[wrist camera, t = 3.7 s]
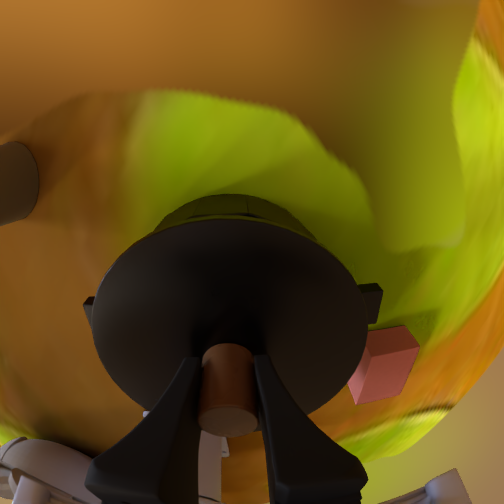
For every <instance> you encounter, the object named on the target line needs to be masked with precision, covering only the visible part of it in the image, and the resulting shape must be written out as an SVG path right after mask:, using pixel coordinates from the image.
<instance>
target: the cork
mask: <svg viewBox="0 0 504 504" xmlns="http://www.w3.org/2000/svg"><path fill="white" fill-rule="evenodd" d="M38 191H39V175H38V171H37V166H36V162H35V160H34V158H33V156H32V154H31V152H30V151H29V150H28V149H27V148H26V147H25V145H23V144H21V143H18V142H9V143H6V144H3V145H1V146H0V226H3V225H6V224H9V223H12V222H15V221H18V220H20V219H23V218H25V217H26V216H27V215H28V214H29V213H30V212H31V211H32V209H33V207H34V205H35V203H36V200H37V195H38Z"/></svg>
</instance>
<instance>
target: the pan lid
mask: <svg viewBox="0 0 504 504" xmlns="http://www.w3.org/2000/svg"><path fill="white" fill-rule="evenodd" d="M92 334H93V339H94V344H95V347H96V350H97V353H98V355H99V358H100V360H101V362H102V364H103V365H104V367H105V369H106V371H107V372H108V374H109V375H110V376H111V378H112V379H113V381H114V382H115V383H116V384H117V385H118V386H119V387H120V388H121V390H122V391H123V392H125V393H126V394H127V395H128V396H129V397H130V398H131V399H132V400H134V401H135V402H136V403H138V404H139V405H141V406H142V407H143V408H145V409H147V410H148V411H151V409H152V408H153V407H154V406H155V404H156V403H157V402H158V400H159V399H160V398H161V396H162V395H163V393H164V392H165V391H166V389H167V387H168V386H169V384H170V383H171V381H172V380H173V378H174V376H175V374H176V373H177V371H178V369H179V367H180V365H181V364H182V362H183V359H184V358H186V357H199V359H200V364H201V378H200V387H199V397H198V407H197V417H196V420H197V423H198V425H199V427H200V428H201V429H202V430H203V431H205V432H207V433H209V434H212V435H215V436H220V437H239V436H243V435H246V434H249V433H251V432H255V431H261V425H260V419H259V408H258V397H257V388H256V379H255V367H254V355H267V354H268V355H269V356H271V360H272V362H273V365H274V367H275V369H276V371H277V373H278V375H279V377H280V379H281V380H282V382H283V384H284V385H285V387H286V389H287V390H288V392H289V393H290V395H291V396H292V398H293V399H294V400H295V402H296V403H297V404H298V406H299V407H300V408H301V409H302V411H303V412H304V413H305V414H306V415H308V414H310V413H312V412H313V411H315V410H317V409H318V408H320V407H321V406H323V405H324V404H325V403H327V402H328V401H329V400H331V399H332V398H333V397H334V396H335V395H336V394H337V393H338V392H339V391H340V390H341V389H342V388H343V387H344V386H345V385H346V384H347V382H348V381H349V380H350V378H351V377H352V375H353V374H354V372H355V371H356V369H357V367H358V365H359V363H360V361H361V359H362V356H363V353H364V350H365V347H366V341H367V335H368V316H367V311H366V305H365V302H364V299H363V296H362V294H361V291H360V289H359V287H358V285H357V284H356V282H355V280H354V278H353V277H352V275H351V274H350V272H349V271H348V270H347V269H346V267H345V266H344V265H343V264H342V263H341V261H340V260H339V259H338V258H337V257H336V256H335V255H334V254H333V253H331V252H330V251H329V250H328V249H327V248H326V247H325V246H323V245H322V244H320V243H319V242H317V241H316V240H314V239H313V238H311V237H309V236H308V235H306V234H304V233H302V232H300V231H297V230H295V229H293V228H291V227H288V226H286V225H283V224H280V223H276V222H273V221H269V220H266V219H261V218H254V217H247V216H240V215H213V216H205V217H197V218H191V219H187V220H183V221H180V222H176V223H172V224H169V225H167V226H165V227H162V228H160V229H158V230H156V231H153V232H151V233H149V234H148V235H146V236H145V237H143V238H141V239H140V240H138V241H137V242H135V243H134V244H133V245H131V246H130V247H129V248H128V249H127V250H126V251H125V252H124V253H122V254H121V255H120V256H119V258H118V259H117V260H116V261H115V262H114V264H113V265H112V266H111V267H110V269H109V270H108V271H107V272H106V274H105V276H104V278H103V279H102V281H101V283H100V285H99V287H98V290H97V293H96V296H95V299H94V302H93V309H92Z"/></svg>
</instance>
